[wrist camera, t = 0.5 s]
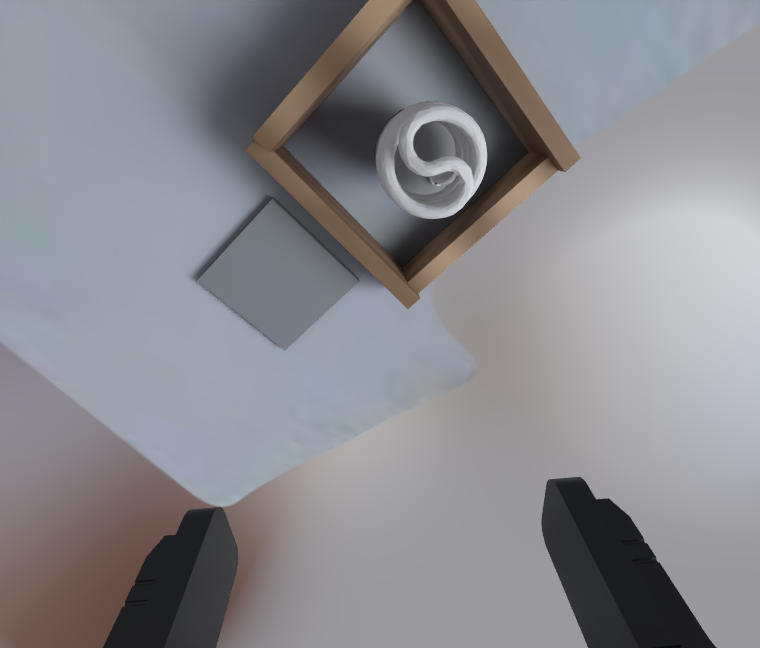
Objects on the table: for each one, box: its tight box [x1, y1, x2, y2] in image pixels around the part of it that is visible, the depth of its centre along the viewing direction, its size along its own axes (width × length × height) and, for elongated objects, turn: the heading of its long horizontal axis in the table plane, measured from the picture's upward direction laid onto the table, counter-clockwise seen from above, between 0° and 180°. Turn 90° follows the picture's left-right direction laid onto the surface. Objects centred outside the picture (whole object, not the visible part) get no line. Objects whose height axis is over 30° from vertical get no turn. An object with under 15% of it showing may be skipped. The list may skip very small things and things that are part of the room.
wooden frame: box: [245, 0, 580, 309], centre depth 28 cm, size 15×15×6 cm
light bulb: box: [374, 101, 487, 219], centre depth 25 cm, size 6×6×12 cm
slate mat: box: [197, 197, 359, 350], centre depth 34 cm, size 9×9×1 cm
